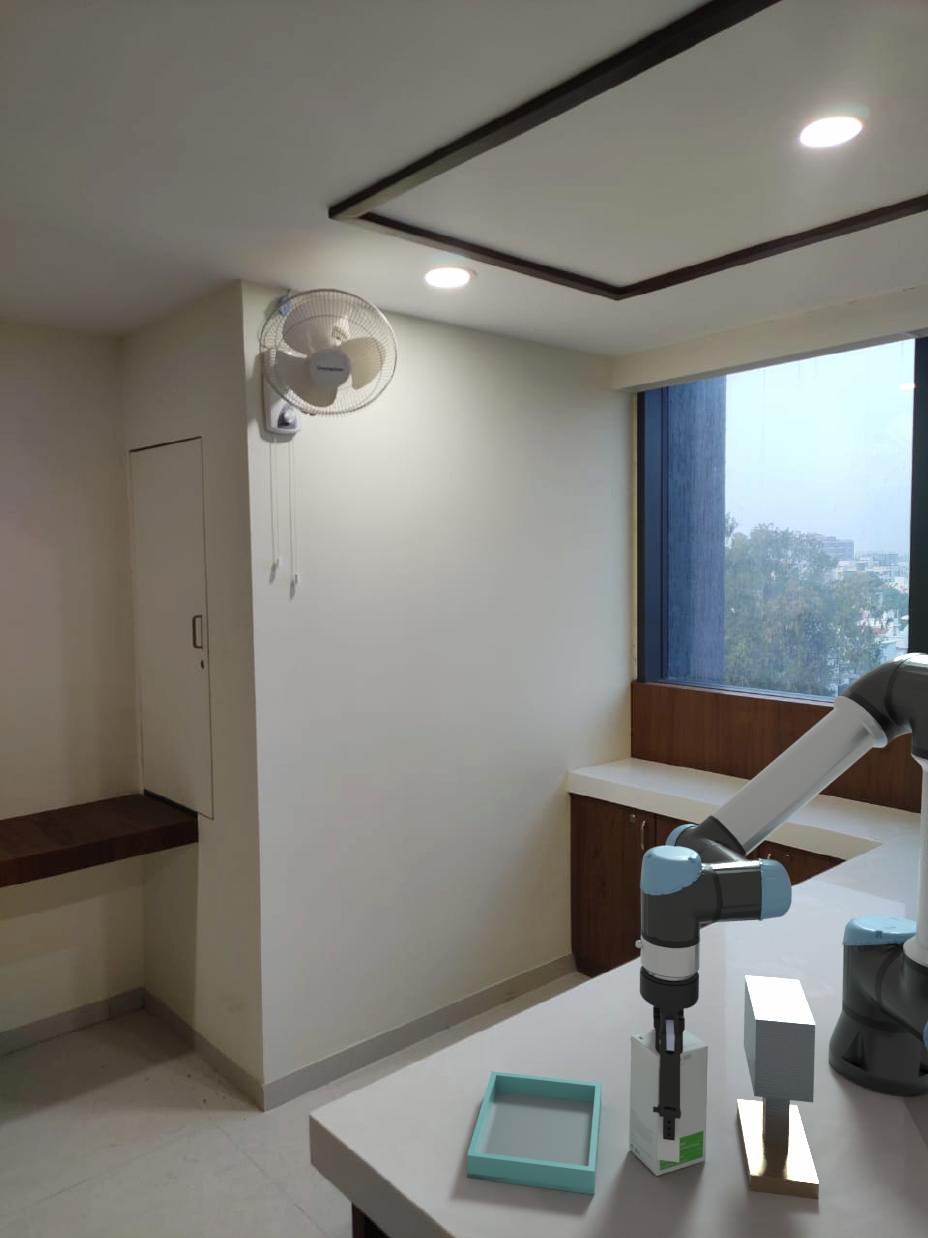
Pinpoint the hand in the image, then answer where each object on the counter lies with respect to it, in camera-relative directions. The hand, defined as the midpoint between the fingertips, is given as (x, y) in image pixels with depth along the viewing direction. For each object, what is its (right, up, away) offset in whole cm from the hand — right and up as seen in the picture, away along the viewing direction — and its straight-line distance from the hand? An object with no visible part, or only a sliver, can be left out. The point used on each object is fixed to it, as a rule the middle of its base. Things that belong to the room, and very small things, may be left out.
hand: (666, 1133), depth 118 cm
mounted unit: (+14, -3, 0) cm, 15 cm away
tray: (-17, -3, +4) cm, 17 cm away
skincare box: (0, -3, 0) cm, 3 cm away
